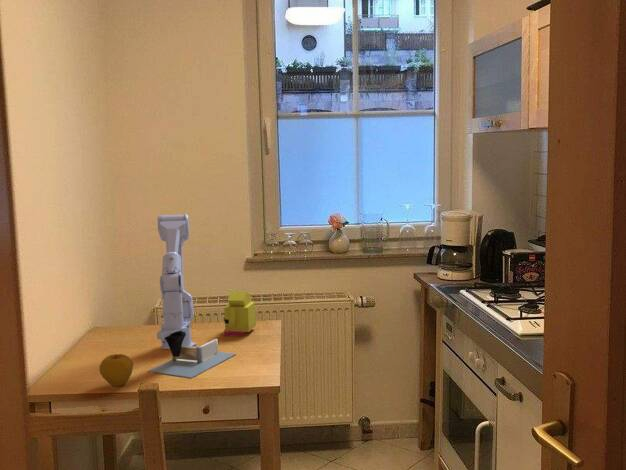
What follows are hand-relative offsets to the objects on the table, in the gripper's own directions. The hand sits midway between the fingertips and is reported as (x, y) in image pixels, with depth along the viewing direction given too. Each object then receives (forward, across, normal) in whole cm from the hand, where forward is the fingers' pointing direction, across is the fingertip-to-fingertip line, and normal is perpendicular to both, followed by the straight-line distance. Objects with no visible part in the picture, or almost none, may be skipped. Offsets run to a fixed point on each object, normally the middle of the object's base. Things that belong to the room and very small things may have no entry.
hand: (176, 356), depth 198 cm
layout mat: (+2, +2, -5) cm, 6 cm away
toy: (+2, +36, -1) cm, 37 cm away
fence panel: (+2, +2, -2) cm, 3 cm away
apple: (+3, -21, +4) cm, 22 cm away
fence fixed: (+2, +7, -7) cm, 10 cm away
